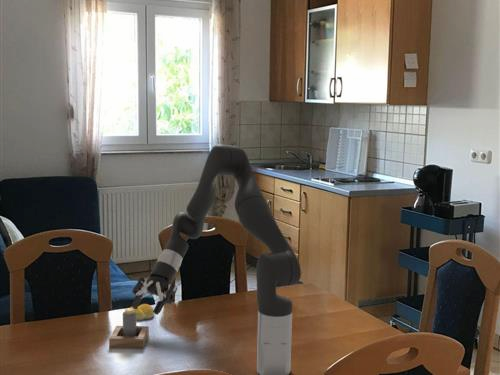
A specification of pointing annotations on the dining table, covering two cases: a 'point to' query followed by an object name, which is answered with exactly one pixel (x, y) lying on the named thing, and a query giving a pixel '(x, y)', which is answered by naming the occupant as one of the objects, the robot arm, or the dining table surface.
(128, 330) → the plug
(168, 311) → the dining table surface
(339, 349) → the dining table surface
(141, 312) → the bread roll
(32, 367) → the dining table surface
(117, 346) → the socket
